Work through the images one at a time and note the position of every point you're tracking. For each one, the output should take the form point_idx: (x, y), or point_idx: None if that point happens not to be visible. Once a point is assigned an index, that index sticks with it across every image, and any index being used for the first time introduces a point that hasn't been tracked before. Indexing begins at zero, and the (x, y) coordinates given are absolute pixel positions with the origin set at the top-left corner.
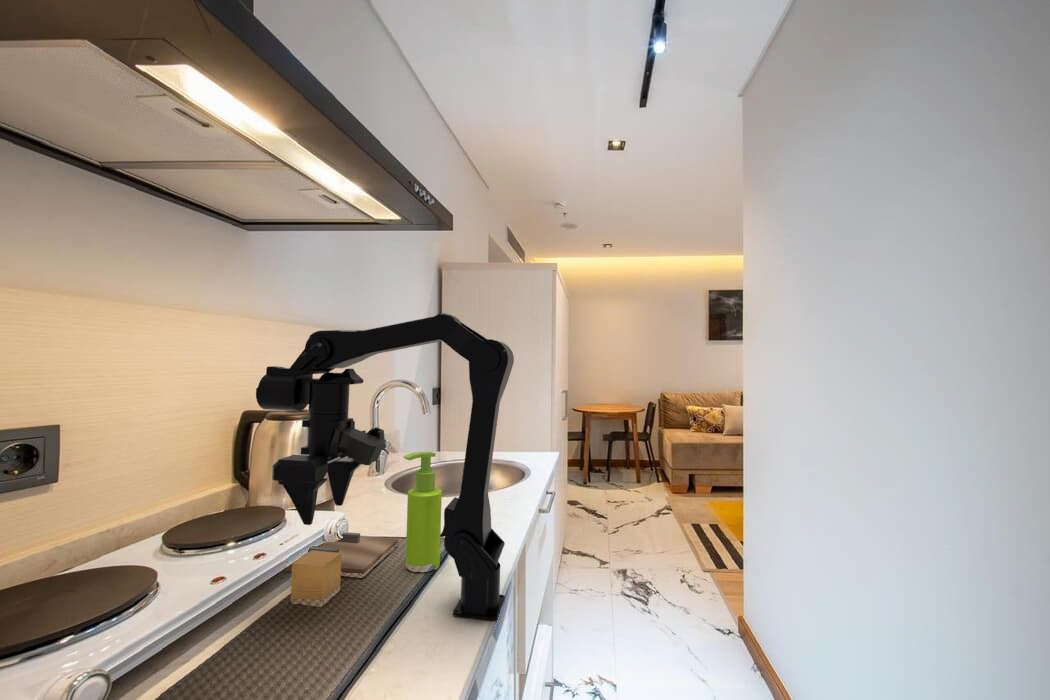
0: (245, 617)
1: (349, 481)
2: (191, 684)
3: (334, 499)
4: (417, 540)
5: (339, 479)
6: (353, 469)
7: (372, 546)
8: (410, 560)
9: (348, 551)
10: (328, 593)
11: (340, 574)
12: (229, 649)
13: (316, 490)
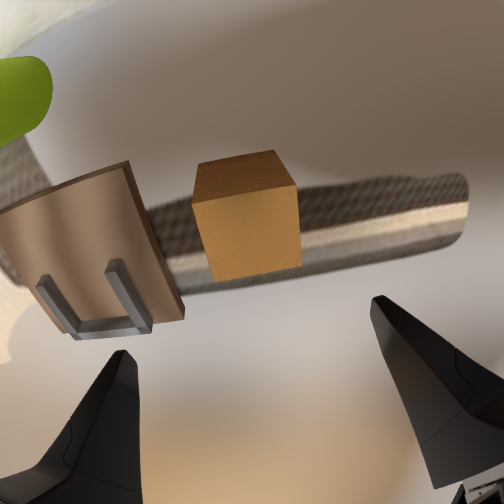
0: (338, 245)
1: (70, 431)
2: (462, 185)
3: (136, 385)
4: (2, 88)
5: (113, 459)
6: (53, 488)
7: (36, 238)
8: (37, 99)
9: (80, 263)
10: (251, 159)
11: (196, 178)
12: (411, 198)
13: (482, 402)
